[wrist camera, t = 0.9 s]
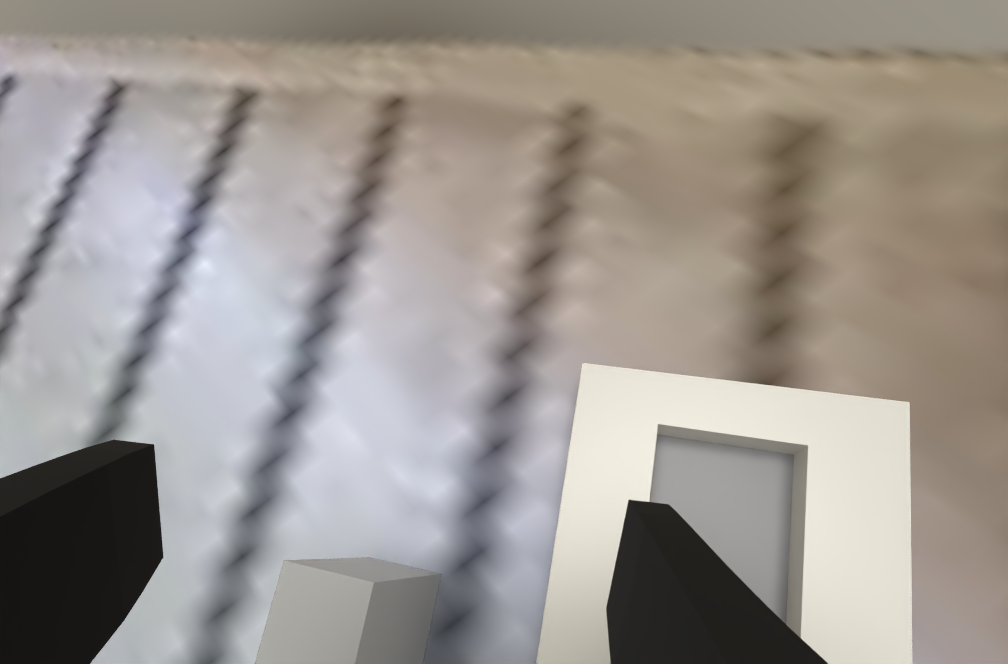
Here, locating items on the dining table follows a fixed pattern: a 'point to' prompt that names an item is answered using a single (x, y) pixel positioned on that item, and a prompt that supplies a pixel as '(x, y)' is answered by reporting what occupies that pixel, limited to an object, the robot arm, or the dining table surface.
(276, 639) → the plug
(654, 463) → the power strip
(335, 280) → the dining table surface
